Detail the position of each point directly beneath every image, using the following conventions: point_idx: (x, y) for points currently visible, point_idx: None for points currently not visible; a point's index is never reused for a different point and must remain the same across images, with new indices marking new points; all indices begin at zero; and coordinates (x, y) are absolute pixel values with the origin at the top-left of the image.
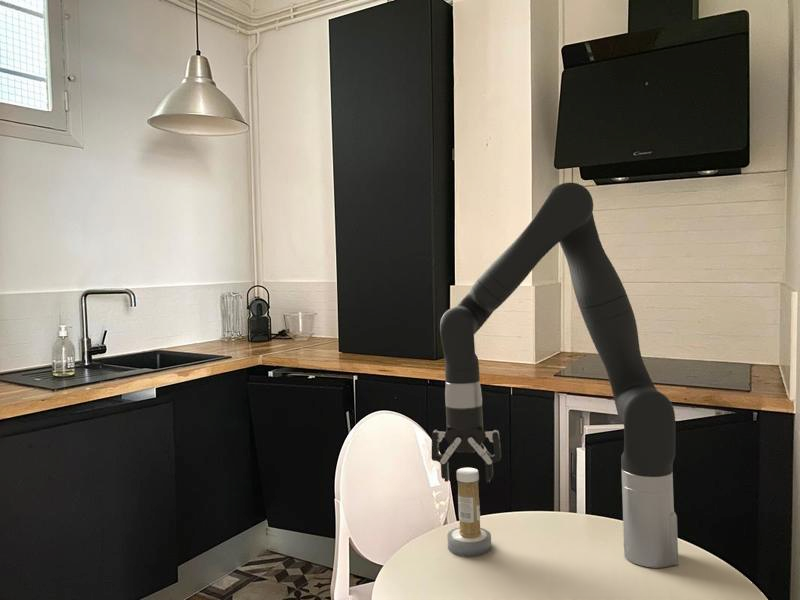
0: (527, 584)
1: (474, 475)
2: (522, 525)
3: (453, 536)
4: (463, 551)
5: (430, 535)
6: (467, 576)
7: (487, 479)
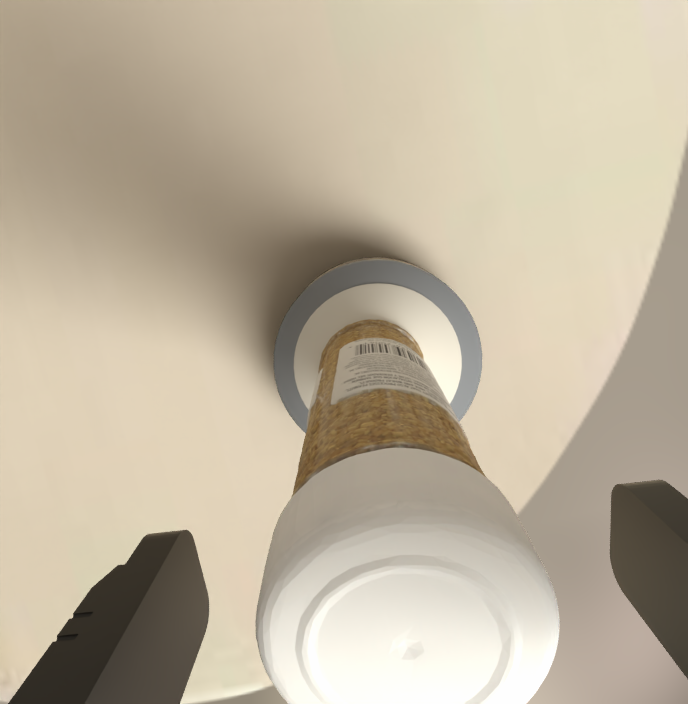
0: (56, 56)
1: (287, 538)
2: (215, 584)
3: (446, 326)
4: (381, 258)
5: (563, 424)
6: (320, 60)
7: (156, 546)
